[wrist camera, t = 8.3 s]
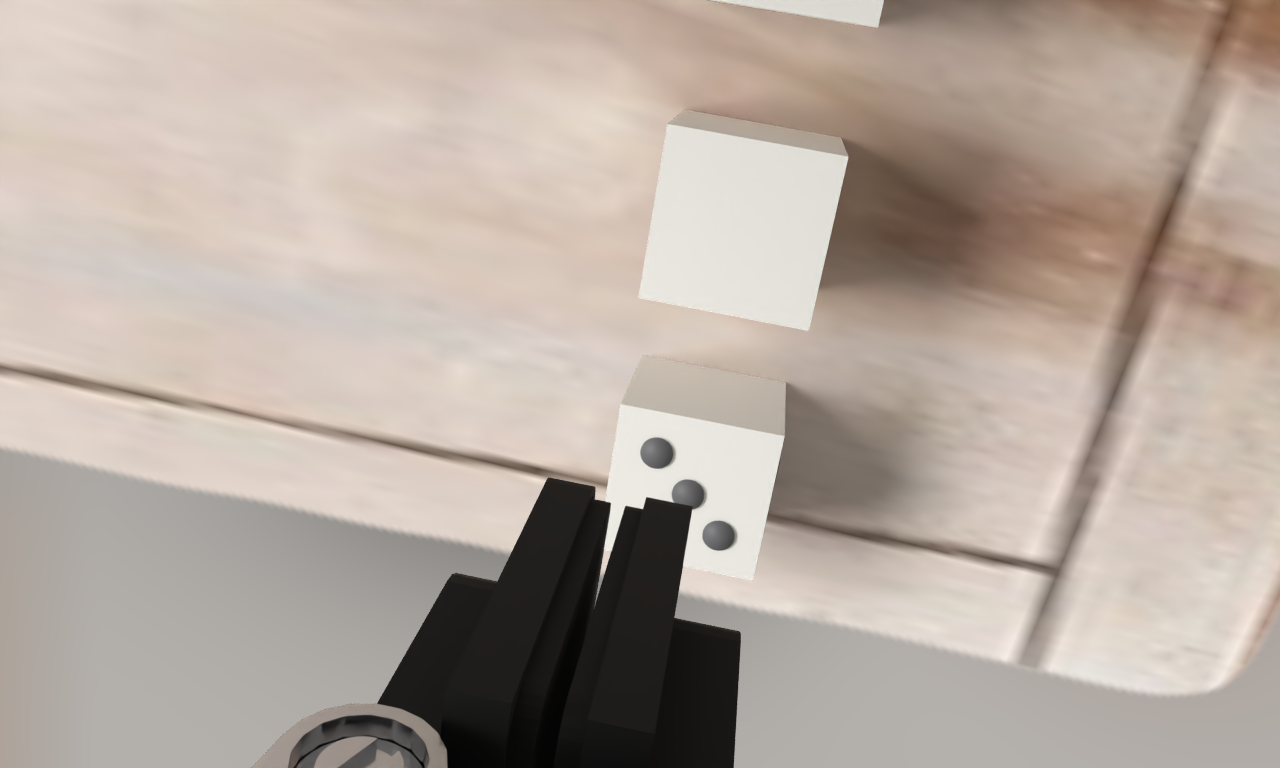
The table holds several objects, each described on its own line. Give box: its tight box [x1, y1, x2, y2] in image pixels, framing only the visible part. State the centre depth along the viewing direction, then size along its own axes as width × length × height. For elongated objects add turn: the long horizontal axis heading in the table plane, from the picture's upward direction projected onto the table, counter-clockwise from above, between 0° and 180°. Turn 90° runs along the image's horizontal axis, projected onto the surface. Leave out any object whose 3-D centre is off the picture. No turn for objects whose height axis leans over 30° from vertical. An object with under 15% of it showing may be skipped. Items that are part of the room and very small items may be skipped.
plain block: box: [638, 110, 849, 331], centre depth 38 cm, size 6×6×6 cm
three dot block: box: [604, 355, 786, 581], centre depth 41 cm, size 6×6×6 cm
